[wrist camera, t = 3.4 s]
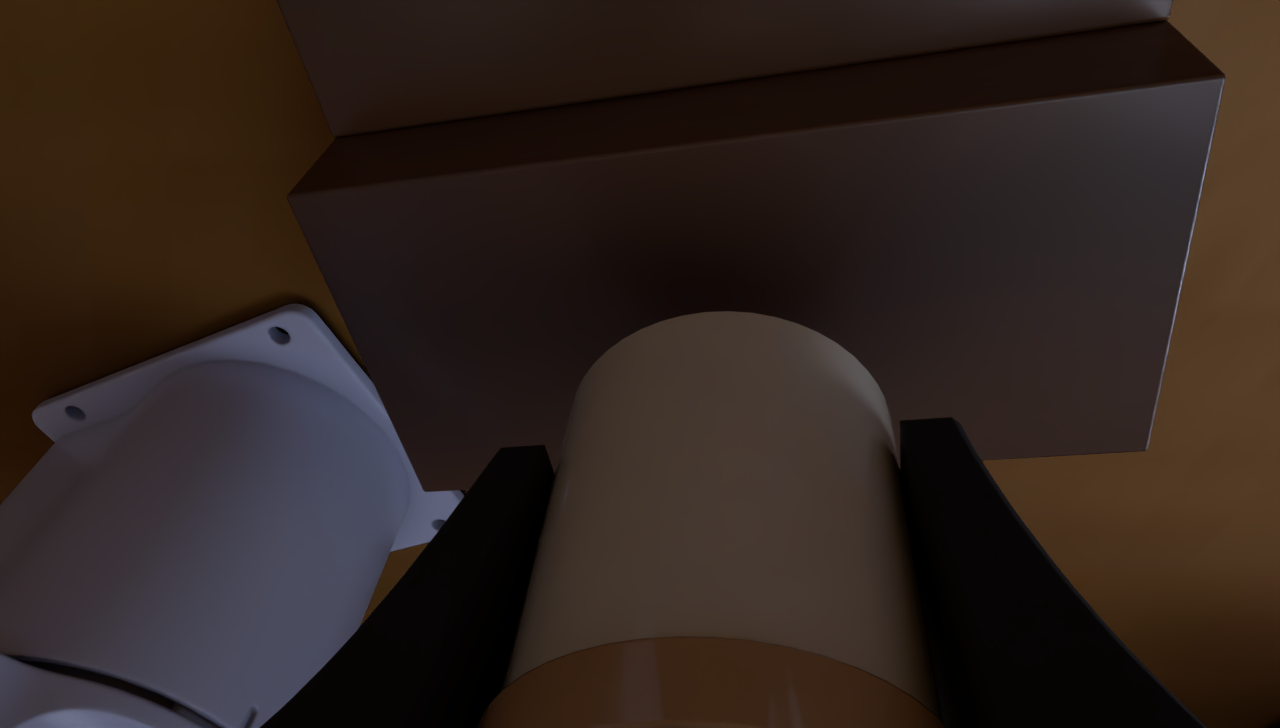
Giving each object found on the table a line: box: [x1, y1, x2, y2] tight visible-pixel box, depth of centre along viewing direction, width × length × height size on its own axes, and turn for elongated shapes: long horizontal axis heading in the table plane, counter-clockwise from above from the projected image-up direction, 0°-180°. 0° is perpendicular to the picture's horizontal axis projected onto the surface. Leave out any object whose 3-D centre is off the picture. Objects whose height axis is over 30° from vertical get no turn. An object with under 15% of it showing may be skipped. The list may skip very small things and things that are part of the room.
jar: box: [477, 311, 947, 728], centre depth 10 cm, size 5×5×6 cm
